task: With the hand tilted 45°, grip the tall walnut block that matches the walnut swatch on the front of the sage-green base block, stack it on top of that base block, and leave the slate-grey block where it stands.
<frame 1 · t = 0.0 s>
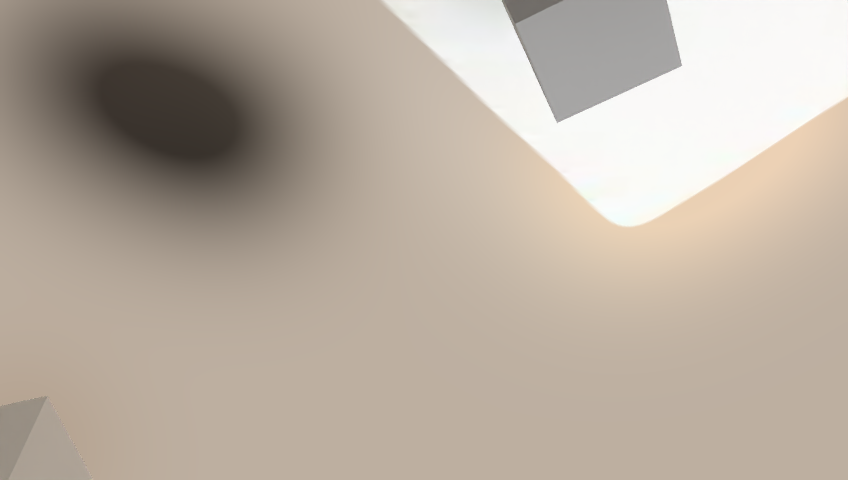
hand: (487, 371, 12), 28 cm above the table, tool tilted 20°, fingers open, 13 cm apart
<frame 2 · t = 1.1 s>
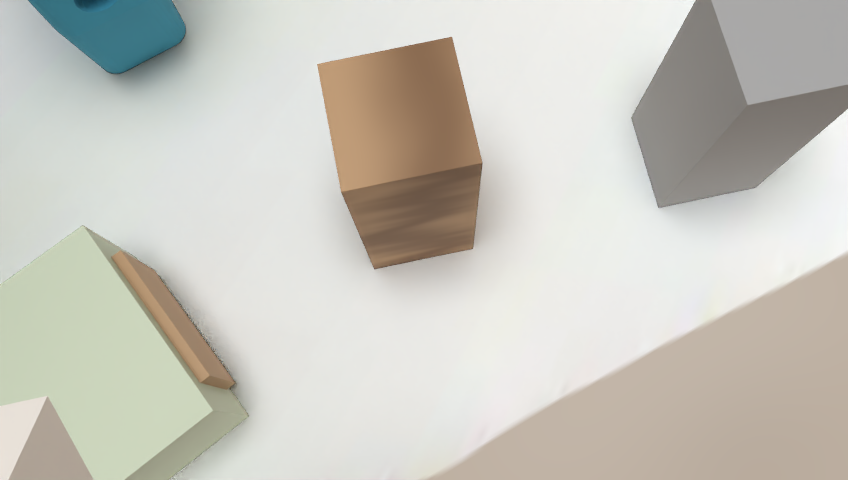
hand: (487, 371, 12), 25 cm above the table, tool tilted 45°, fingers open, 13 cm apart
walnut block: (413, 211, 39), on the table
block: (120, 0, 43), on the table
slate block: (692, 152, 39), on the table
base block: (107, 399, 37), on the table
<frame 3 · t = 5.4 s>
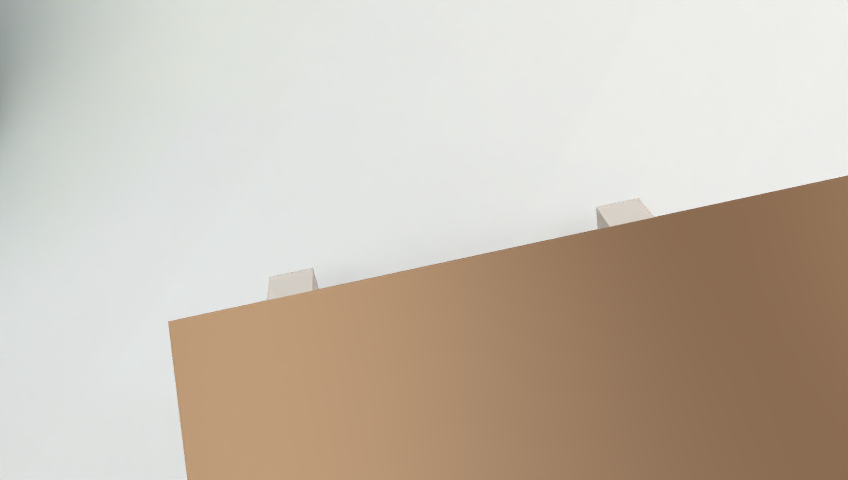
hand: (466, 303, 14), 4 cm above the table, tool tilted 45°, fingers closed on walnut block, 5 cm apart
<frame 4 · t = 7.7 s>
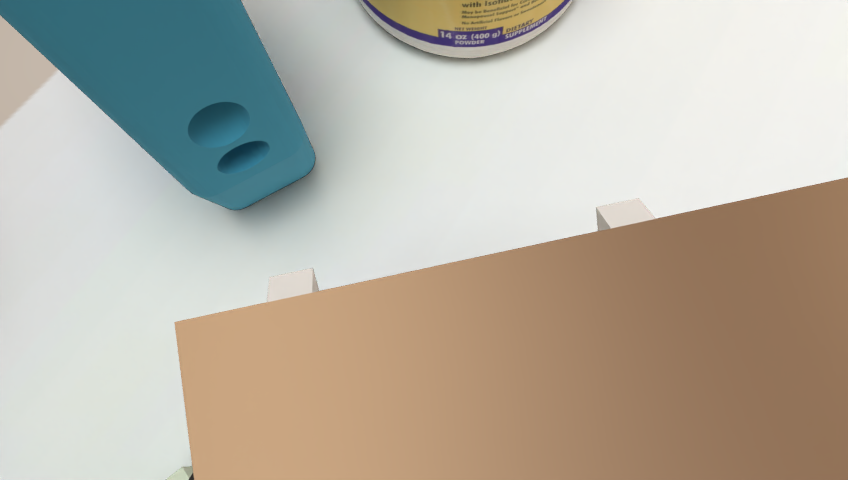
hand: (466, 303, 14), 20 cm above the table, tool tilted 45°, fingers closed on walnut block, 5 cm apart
block: (237, 120, 37), on the table
when the fingers open (11 cm above the table, at t = 10.4 s): walnut block drops 2 cm, resting on base block.
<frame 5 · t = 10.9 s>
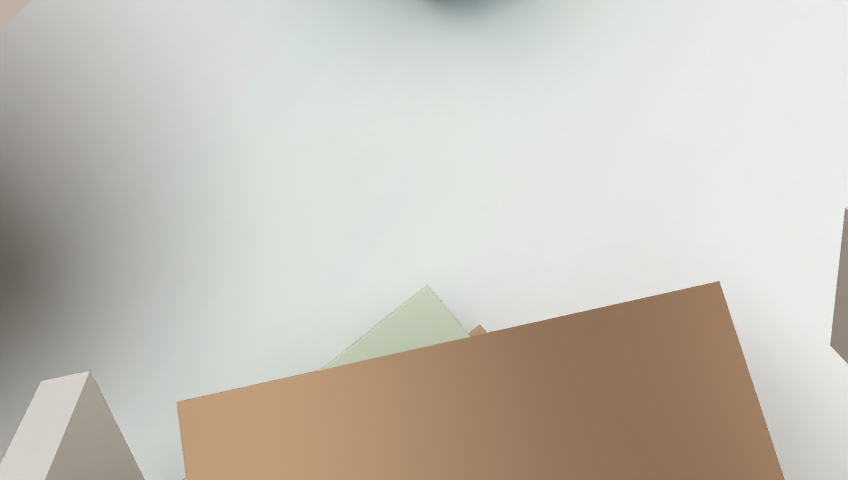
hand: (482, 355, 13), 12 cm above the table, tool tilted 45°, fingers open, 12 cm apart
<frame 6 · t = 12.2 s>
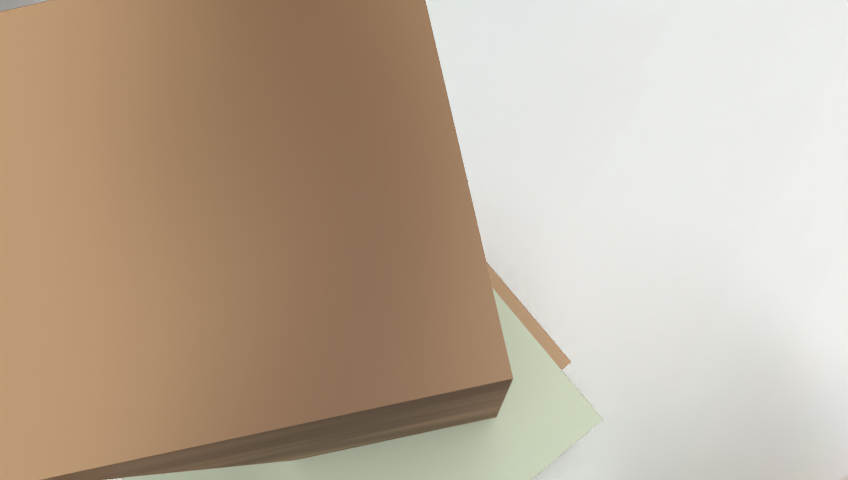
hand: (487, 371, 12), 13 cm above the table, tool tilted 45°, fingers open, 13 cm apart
walnut block: (376, 337, 19), point 6 cm above the table, touching base block
base block: (346, 400, 25), on the table, touching walnut block
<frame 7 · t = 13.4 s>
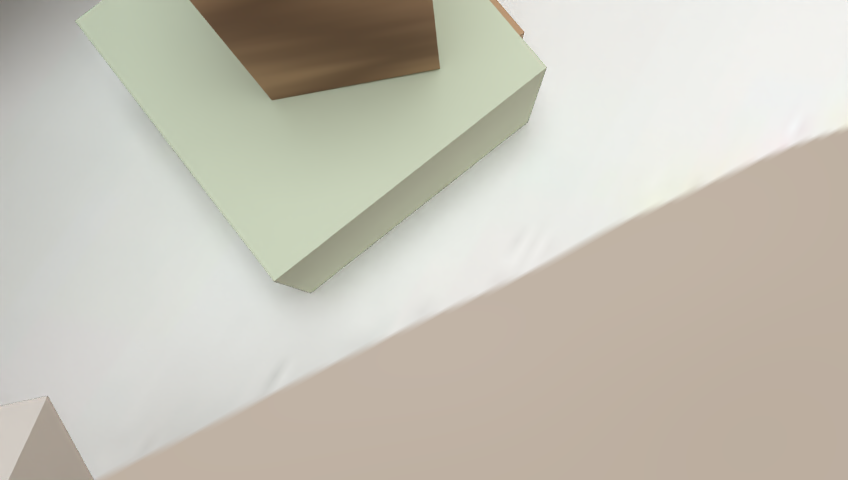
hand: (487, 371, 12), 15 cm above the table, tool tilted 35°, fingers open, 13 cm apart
walnut block: (342, 4, 23), point 6 cm above the table, touching base block
base block: (337, 104, 29), on the table, touching walnut block
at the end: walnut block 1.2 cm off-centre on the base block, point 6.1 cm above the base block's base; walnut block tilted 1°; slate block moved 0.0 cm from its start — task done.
